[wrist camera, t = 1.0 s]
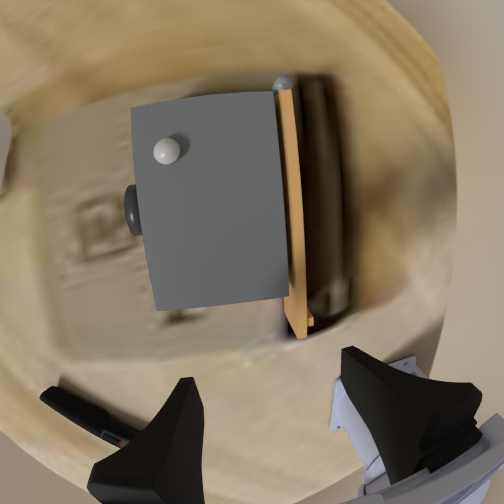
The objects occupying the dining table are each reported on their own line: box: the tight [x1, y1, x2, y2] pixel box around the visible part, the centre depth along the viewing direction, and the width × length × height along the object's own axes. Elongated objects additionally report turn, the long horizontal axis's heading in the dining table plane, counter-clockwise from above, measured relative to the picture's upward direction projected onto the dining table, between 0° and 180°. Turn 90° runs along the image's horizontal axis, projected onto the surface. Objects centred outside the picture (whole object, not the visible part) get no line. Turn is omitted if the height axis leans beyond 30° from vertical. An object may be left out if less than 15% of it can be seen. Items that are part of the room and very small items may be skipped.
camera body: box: [124, 91, 289, 311], centre depth 17 cm, size 9×12×4 cm
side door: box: [270, 75, 313, 339], centre depth 17 cm, size 1×16×4 cm, turn 5°
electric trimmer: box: [39, 386, 141, 448], centre depth 21 cm, size 4×16×3 cm, turn 55°
